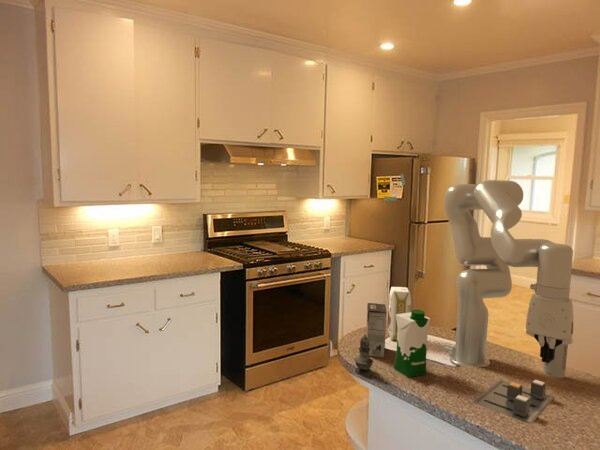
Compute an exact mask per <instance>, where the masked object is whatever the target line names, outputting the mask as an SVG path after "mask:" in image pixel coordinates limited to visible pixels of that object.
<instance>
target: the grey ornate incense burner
mask: <svg viewBox="0 0 600 450" xmlns="http://www.w3.org/2000/svg"><path fill="white" fill-rule="evenodd" d="M358 350H359V355H358V356H357V357H355V358H354V362H355V365H356V367H357V368H356V367H355V369H354V372H355V373H356V374H358V375H361V376H369V375H371V374H372V373H373V371H372V369H371V368H372V365H373V364H374V359H372V358H371V357H370V356H369V350H370V348H369V338H367V337H366V334H364V335H363V336H362V337H360V339H359V347H358Z"/></svg>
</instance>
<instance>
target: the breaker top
mask: <svg viewBox="0 0 600 450" xmlns="http://www.w3.org/2000/svg"><path fill="white" fill-rule="evenodd" d="M546 386H547V383H545V382H544V381H541V380H538V379H534V380H533V381H531V384H530V389H531V392H530V396H532V397H535V398H538V399H541V400H542V399H543V397H544V396H545V395H546V394H547V393H546V389H547V387H546Z"/></svg>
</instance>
